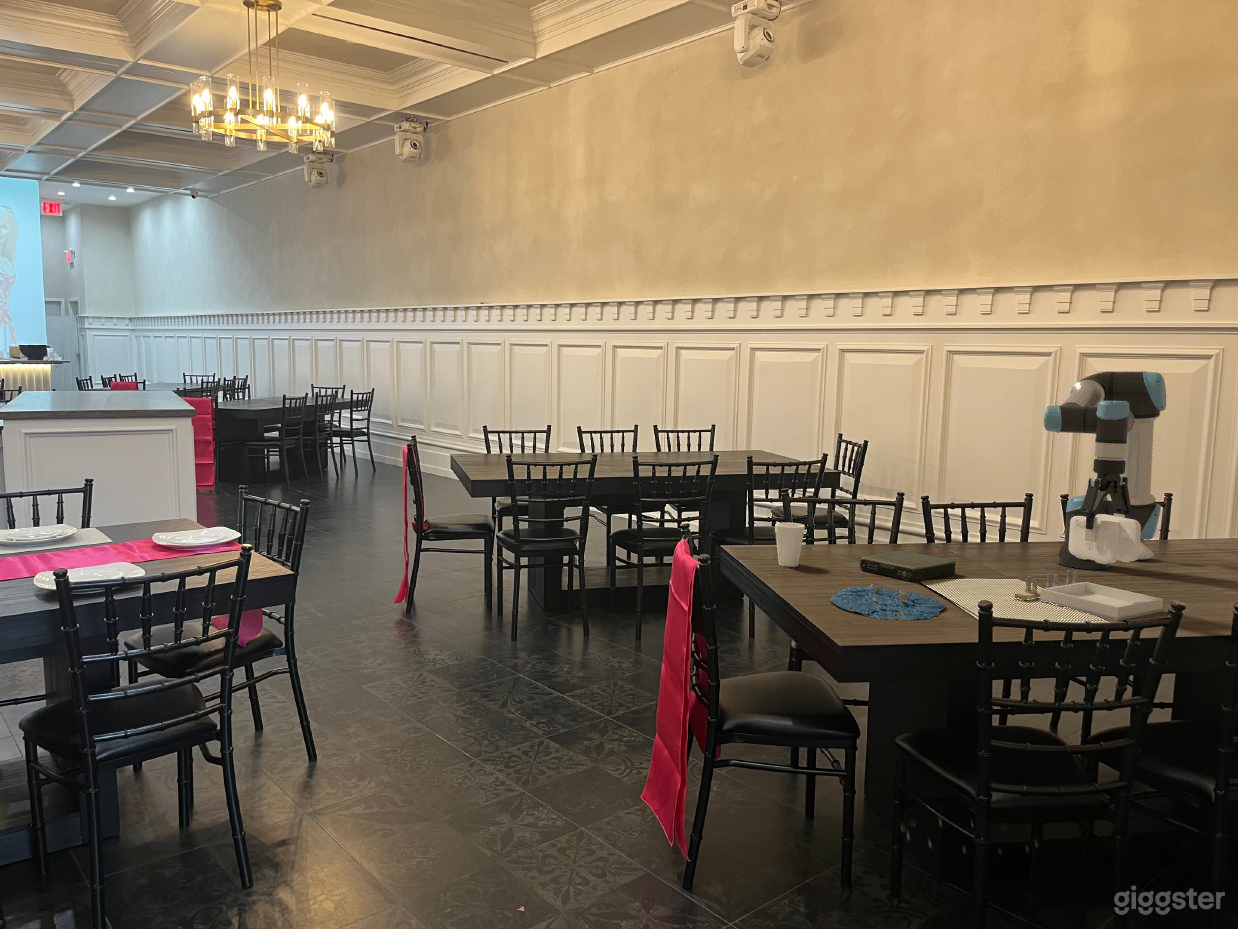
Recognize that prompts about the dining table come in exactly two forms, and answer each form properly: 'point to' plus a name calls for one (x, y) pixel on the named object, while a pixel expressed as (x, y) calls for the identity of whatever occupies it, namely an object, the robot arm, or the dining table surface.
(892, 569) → the network switch
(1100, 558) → the cable organizer
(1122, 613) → the holder tray
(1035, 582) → the cable clip rail
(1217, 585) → the dining table surface
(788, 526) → the foam cup
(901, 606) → the blue wave plaque
